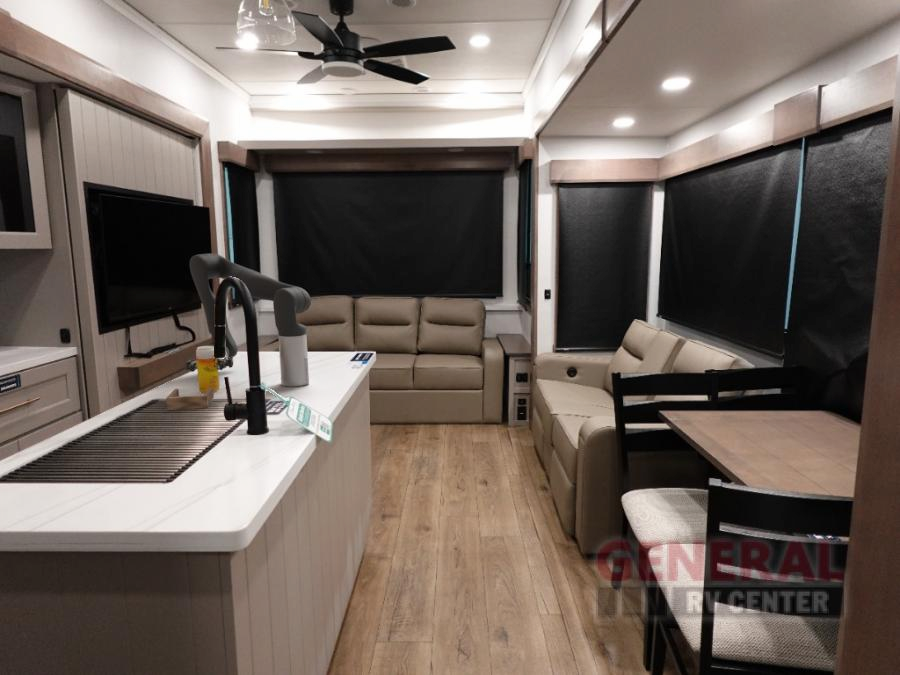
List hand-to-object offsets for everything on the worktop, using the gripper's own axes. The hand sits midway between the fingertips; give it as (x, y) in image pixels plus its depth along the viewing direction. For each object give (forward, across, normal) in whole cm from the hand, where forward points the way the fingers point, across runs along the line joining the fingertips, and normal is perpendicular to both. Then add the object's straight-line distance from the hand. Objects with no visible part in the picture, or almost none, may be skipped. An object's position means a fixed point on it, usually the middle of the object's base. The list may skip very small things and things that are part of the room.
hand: (206, 367), depth 177 cm
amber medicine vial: (-2, 0, +9) cm, 9 cm away
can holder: (+11, -3, +8) cm, 14 cm away
